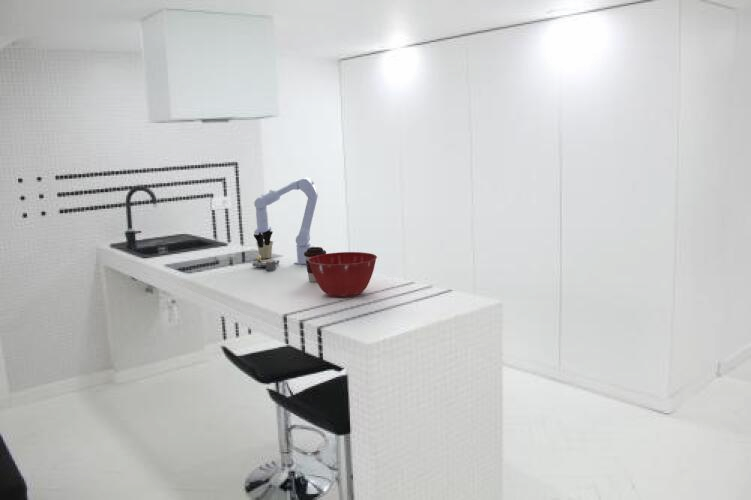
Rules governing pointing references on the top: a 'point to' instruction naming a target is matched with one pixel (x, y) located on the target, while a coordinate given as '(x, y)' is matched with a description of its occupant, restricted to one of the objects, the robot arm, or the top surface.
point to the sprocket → (263, 262)
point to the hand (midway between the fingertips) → (264, 246)
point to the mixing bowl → (343, 272)
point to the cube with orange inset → (270, 266)
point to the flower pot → (265, 250)
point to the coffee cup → (310, 253)
